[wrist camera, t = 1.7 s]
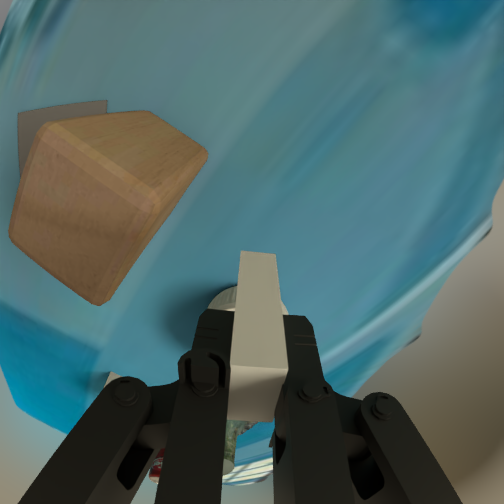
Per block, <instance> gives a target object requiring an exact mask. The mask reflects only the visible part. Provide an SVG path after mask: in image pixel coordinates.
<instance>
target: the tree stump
mask: <svg viewBox="0 0 504 504" xmlns="http://www.w3.org/2000/svg"><path fill="white" fill-rule="evenodd" d="M257 423H258V422H256V421H241V420H229V419H227V424H226V437H225V450H224V463H223V475H226V474H228V473H230V472H232V470H233V469H234V458H235V448H236V439H237V436H238V435H241V434H243V433H244V432H245V431H246V430H249V429H250V428H252V426H253V425H255V424H257Z"/></svg>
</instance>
